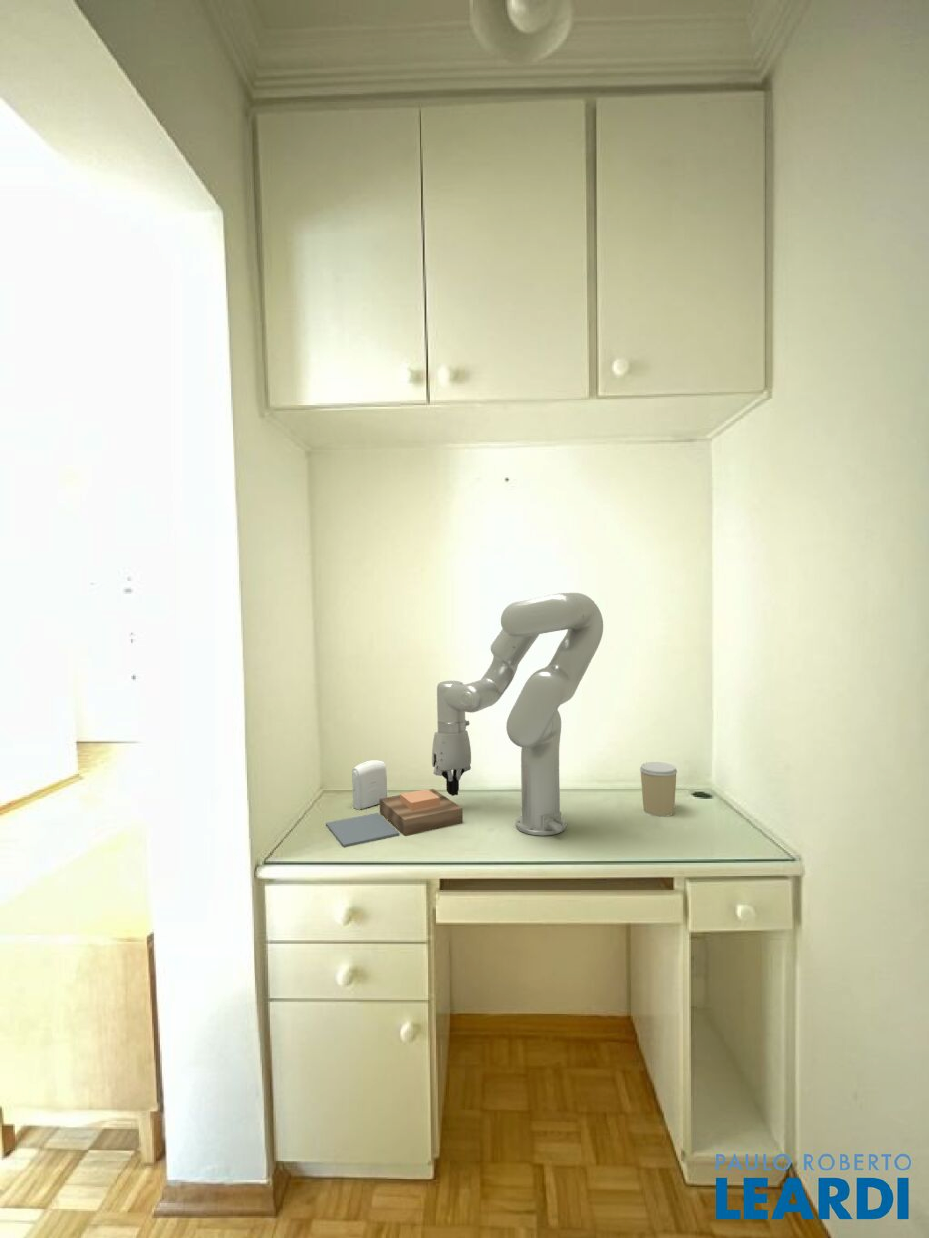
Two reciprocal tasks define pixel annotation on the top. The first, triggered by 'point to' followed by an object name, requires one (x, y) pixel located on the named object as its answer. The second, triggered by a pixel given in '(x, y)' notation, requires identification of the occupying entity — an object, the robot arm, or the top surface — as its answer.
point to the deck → (421, 815)
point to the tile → (419, 799)
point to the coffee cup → (658, 788)
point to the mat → (361, 829)
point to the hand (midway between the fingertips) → (452, 793)
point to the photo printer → (369, 783)
